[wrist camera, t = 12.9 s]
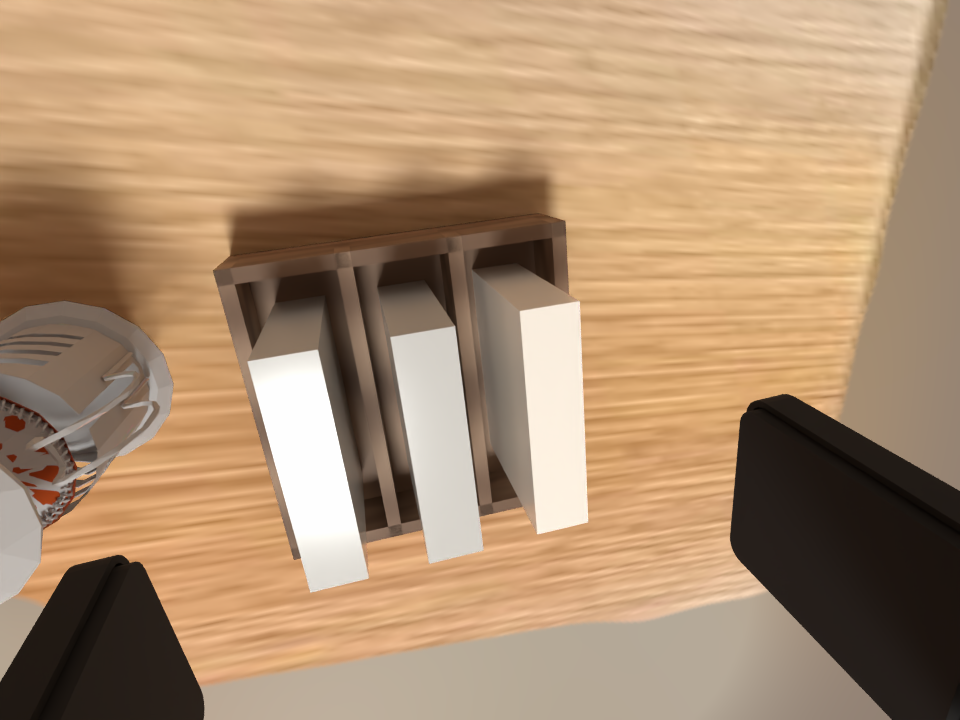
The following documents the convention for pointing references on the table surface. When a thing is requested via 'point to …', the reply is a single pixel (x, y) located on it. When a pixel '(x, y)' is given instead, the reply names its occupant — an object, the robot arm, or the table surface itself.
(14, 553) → the french press
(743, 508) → the robot arm
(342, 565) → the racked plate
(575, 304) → the plate
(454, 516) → the racked plate mid
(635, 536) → the table surface
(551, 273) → the rack
